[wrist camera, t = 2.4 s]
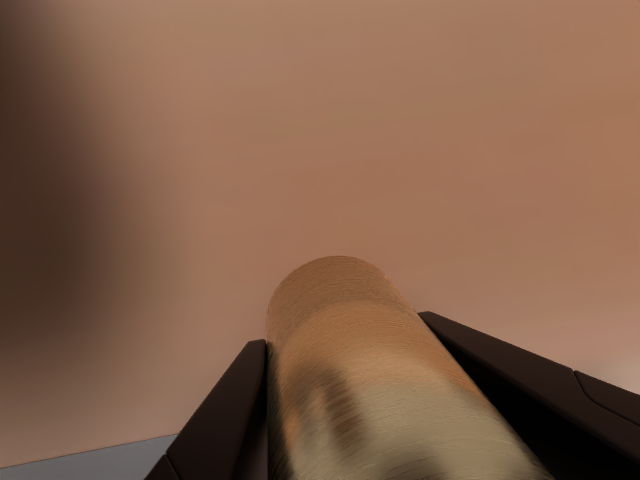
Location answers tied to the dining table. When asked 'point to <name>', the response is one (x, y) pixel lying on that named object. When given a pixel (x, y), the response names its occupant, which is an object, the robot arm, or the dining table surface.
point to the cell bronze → (374, 388)
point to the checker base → (96, 463)
